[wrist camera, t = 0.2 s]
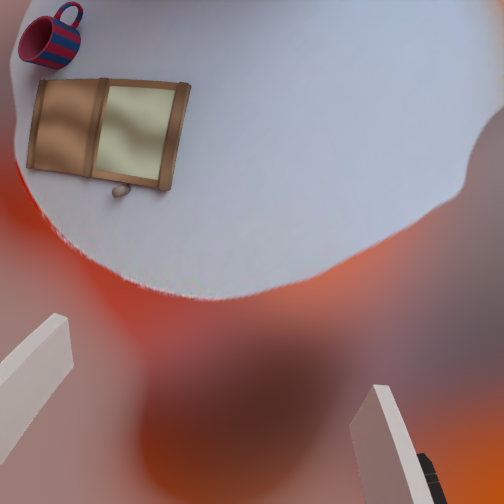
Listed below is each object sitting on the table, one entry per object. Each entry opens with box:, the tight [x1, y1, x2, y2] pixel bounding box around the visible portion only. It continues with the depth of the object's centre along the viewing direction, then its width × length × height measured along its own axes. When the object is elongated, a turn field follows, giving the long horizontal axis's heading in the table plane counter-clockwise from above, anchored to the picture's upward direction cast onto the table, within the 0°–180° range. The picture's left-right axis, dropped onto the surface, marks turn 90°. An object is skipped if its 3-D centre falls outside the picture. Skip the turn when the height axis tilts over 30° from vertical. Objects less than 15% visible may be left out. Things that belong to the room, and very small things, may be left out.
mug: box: [18, 2, 83, 69], centre depth 28 cm, size 7×10×7 cm
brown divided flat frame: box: [26, 78, 191, 197], centre depth 34 cm, size 15×23×3 cm, turn 78°
